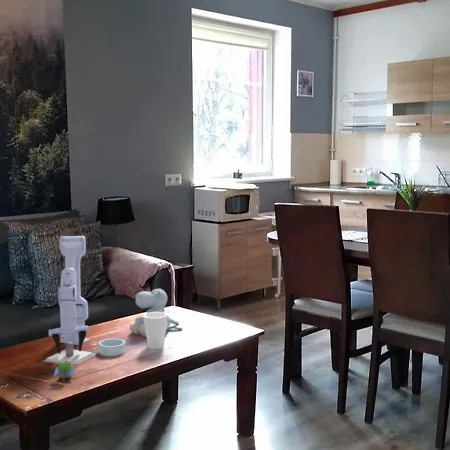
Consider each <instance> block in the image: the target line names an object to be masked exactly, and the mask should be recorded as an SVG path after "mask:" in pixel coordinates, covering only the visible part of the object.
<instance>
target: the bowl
mask: <svg viewBox="0 0 450 450" xmlns="http://www.w3.org/2000/svg"><path fill="white" fill-rule="evenodd" d="M125 353H126V340H124V339H122V338H118V337H117V338H116V337H115V338H106V339H103V340H100V341H99V343H98V354H99V355H101V356H103V357H104V356H105V357H116V356H120V355H123V354H125Z"/></svg>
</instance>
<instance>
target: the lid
mask: <svg viewBox="0 0 450 450" xmlns="http://www.w3.org/2000/svg"><path fill="white" fill-rule="evenodd" d="M64 344H65V347H64V348H65V349H63V350H60V354H58V352H57V353H54V354H53V355H50V356H48V357H46V359H47V361H53V362H59V363H64V364H65V360H67V361H69V362H72V363H73V365H74V364H76V363H77V362H79V361H81V360H83V359H85V358H87V357H89V356H91V355H92V354H93V352H90V351H84V350H81V351H79V349H74V344H73V342H72V341H69V342H66V343H64Z"/></svg>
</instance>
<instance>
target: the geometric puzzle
mask: <svg viewBox="0 0 450 450" xmlns="http://www.w3.org/2000/svg"><path fill="white" fill-rule="evenodd" d="M75 370H76V365H75V366H74V365H73V363H72V362H69V361H67V360H65V364H57V363H56V366H55V370H54V372H53V373H54V374H53V377H56V379H58V380H59V379H62V381H63V383H64V382H67V381H68V379H72V377H74V376H75ZM65 379H66V380H65Z"/></svg>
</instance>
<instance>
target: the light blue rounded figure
mask: <svg viewBox="0 0 450 450" xmlns="http://www.w3.org/2000/svg"><path fill="white" fill-rule="evenodd" d="M167 302H168V295H167V293H166V292H165V290H164V289H162V288H155V289H152V291H146V290H145V291H140V292H138V294H136V297H135V304H136V306H137V307H139V308H141V309H147V308H149V309H148V310H147V311H146V313H149V312H164V313H166V311H165V307H166V305H167ZM171 324H173V325H175V326H170V325H171ZM179 324H180V322H179V321H177V320H174V319H172V318H170V316H169V315H168V314H167V323H166V332H165V335H166V333H167V330H168V329H175V330H179V331H180V330H183V329H182V328H183V327H176V325H179ZM129 330H130V332H131V333H132V334H133V335H137V336H139V335H140V336H142V337H143V338H147V337H146V330H145V324H144V321H143V316H137V317H136V318H135V320H134V322H133V323H132V324H130V325H129Z"/></svg>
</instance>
